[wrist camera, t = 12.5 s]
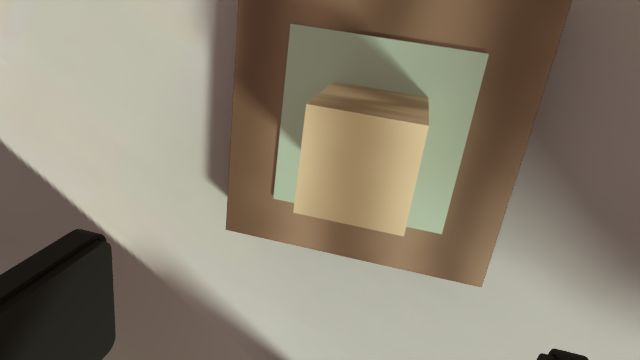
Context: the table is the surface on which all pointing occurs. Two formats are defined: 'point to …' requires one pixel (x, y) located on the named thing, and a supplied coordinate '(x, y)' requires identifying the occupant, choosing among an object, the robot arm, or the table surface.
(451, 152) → the walnut base
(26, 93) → the table surface
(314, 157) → the maple block
